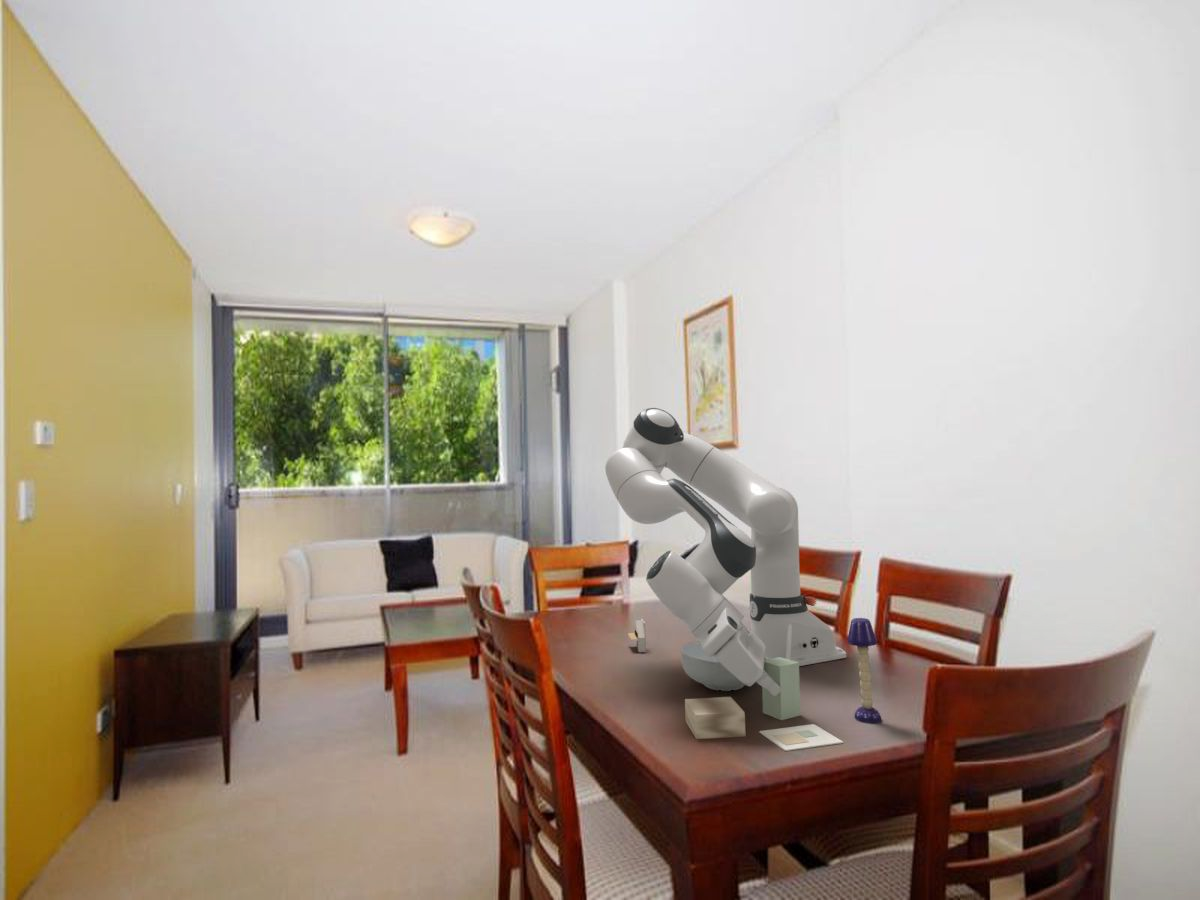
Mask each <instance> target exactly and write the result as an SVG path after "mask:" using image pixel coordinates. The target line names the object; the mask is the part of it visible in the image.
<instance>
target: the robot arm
mask: <svg viewBox="0 0 1200 900" xmlns="http://www.w3.org/2000/svg"><path fill="white" fill-rule="evenodd" d="M604 467H605V475H606V478H607V480H608V484H609V486H610V488H611V490H612V493H613V494H614V497H615V499H616V500H617V502H618V503H619V505H620V507H621V509H623V511H624V513H625V514H626V515H627V516H628V517H629V519H631V520H632V521H634V522H635V523H639V524H642V525H643V524H644V525H652V524H653V525H654V524H658V523H662V522H664V521H667V520H669V519H670V518H672V517H673V516H676V515H679V514H680V513H685V512H686V513H687V515H689V516H690V518H691V519H693V520H694V521H695V522H696V523H697V524H698V525H699V526H700V527H701V528H702V529H703V530H704V531H705V535H704V538H703V540H702V541H701V542H700V543H699V545H697V546H696V548H694V549H693V551H691V553H690V554H689V555H688V556H687V557H685V558H683V557H682V555H679V553H676V552H675V551H674V550H668V551H665V552H664V553H662V555H660V556H659V557H658V559H657V560H656V561H655V562H654V563H653V565H651V567H650V569H649V570H648V571H647V574H646V578H645V580H646V583H647V585H648V586H649V588H650V590H651V591H652V592H653V593H654V594H655V596H656V597H657V598H658V599H659V600H660V602H661V603H662V604H663V606H665V608H666V609H667V610H668V611H669V612H670V613H671V614H672V615H673V616H675V617H677V618H679V619H680V620H681V621H682V622H683V623H684V624H685V626H686V627H687V630H688V631H689V632H690V633H691V634H692V635H693V636H694V637H695V638H696V639H697V641H699V642H700V643H701V646H702V649H703V651H704V652H705V653H706V654H707V655H708V656H710V657H712V656H713V655H715V658H716V659H717V660H718V661H719V662H720V663H721V664H722V665H723V666H724V667H725V668H726V669H727V670H728V671H729V672H730V673H731V674H733V675H734V676H735V677H736V678H737V679H738V680H739V681H741V682H742V683H743V684H745V685H744V686H746V687H752V686H753V685H754V684H755V683H757V684H758V685H759V686H761V688H762V687H764V688H765V689H767V690H768V691H769V692H770V693H771V694H772V695H773V696H776V695H777V694H778V693H779V692H780V691H781V686H780V685H779V684H778V683H777V682H776V681H775V680H773V679H772V678H771V677H770V676H769V675H767V673H766V672H765V670H764V660H767V659H772V658H777V657H782V658H785V659H789V660H792V661H796V662H799V667H802V666H807V665H812V664H818V663H824V662H830V661H836V660H840V659H845V658H847V652H846V651H845V650H844V649H843V648H841V647H839V646H836V640H835V636H834V632H833V630H832V628H831V627H830V626H829V625H828V624H826V623H825V622H824V621H822V620H821V619H820V618H819V617H817V615H815V614H813V613H812V612H810V611H809V608H808V606H810V607H815V606H816V605H817V599H816V597H814V596H813V597H812V596H805V595H804V594H801V579H800V578H801V577H800V576H801V575H800V545H799V544H800V543H799V542H800V539H799V538H800V537H799V535H800V534H799V532H800V531H799V508H798V502H797V500H796V498H795V497H794V495H793V494H791V492H789V491H788V490H786V489H784V488H782V487H778V486H776V485H775V484H773V483H772V482H770V481H769V480H768V479H766V478H764V477H762V476H761V475H759V474H758V473H756V472H754V471H753V470H752V469H750V468H749V467H747V466H746V465H744V464H743V463H741V462H739V461H738V460H737V459H735V458H733V457H731V456H730V455H729V454H727V453H726V452H724V451H722V450H721V449H718V448H717V447H716V446H714V445H712V444H711V443H709V442H707V441H705V440H703V439H701V438H699V437H697V436H694V435H692V434H690V433H687V432H685V431H683V429H682V428H681V426H680V424H679V422H677V420H676V418H675V417H674V416H673V415H672V414H670V413H669V412H667V411H666V410H664V409H661V408H658V407H657V408H656V407H649V408H644V409H642V410H641V411H640V412H639V413H638V414H637V416H636V417H635V419H634V420H633V424H632V426H631V428H630V429H629V431H628V433H627V435H626V437H625V439H624V441H623V446H622V448H619V449H617V450H614V452H613V453H611V455H610V456H609V457H608V458H607V460H606V463H605V466H604ZM664 468H667V469H669V470H670V471H671V472H672V473H673V474H674V475H676V476H677V477H678V478H680V479H681V480H679V479H678V478H677V479H676V478H671V479H668V480H667V479H665V478H664V477H663V476H662V475H661V474H662V473H663V470H664ZM695 489H696V490H697V491H698V492H697V491H696V490H695ZM699 492H700V493H701V494H703V495H704V496H706V497H707V498H709V499H711V500H712V501H714V502H715V503H716V504H718V505H720V506H721V507H722V508H723V509H725V510H726V511H728V512H729V513H730V514H731V515H732V516H734V517H735V518H737V519H738V520H739V521H740V522H742V523H743V524H745V525H747V526H748V527H749V528H750V529H751V530H750V534H751V535H750V536H748V534H747V533H745V532H744V531H743V530H742V529H740V528H738V527H737V526H736V525H735V524H734V523H732V522H731V521H730V520H728V519H727V518H726V517H725V516H724V515H723V514H722V513H721V512H720V511H718V510H717V509H716V508H715V507H714V506H713V505H712V504H711V503H710V502H709V501H707V500H706V498H704V497H703V495H700V493H699ZM749 571H750V587H751V589H750V590H751V591H750V594H749V615H750V616H749V617H750V624H751V625H750V628H749V627H748V626H747V625H746V624H744V623H743V622H742V621H743V620H744V617H745V616H744V615H743V614H742V612H740V611H739V609H738V608H737V607H736V606H734V604H733V603H732V602H730V600H728V598H727V597H725V595H723V594H724V593H725V592H726V591H728V590H729V589H730V588H731V587H732V586H733V584H735V583H736V582H737V581H738V580H739V579H741V578H742V577H743V576H745V575H746V574H747V573H748V572H749ZM807 605H808V606H807Z"/></svg>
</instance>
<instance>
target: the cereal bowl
mask: <svg viewBox="0 0 1200 900" xmlns="http://www.w3.org/2000/svg"><path fill="white" fill-rule="evenodd" d="M680 661H681V665H682V669H683V670H684V672H685V674H686V675H687V676H688V677H689V678H691V679H692V680H694V681H695V682H697V683H700V684H702V685H704V687H706V688H708V689H711V690H714V691H719V690H721V691H722V692H732V691H731V690H734V691H739V690H740V689H743V688H744V686H746V685H745V684H743V683H742V682H741V681H739V680H738V679H737V678H736V677H735V676H734V675H733V674H731V673H730V672H729V671H728V670H727V669H726V668H725V667H724V666H723V665H722V664H721V663H720V662H719V661H718V660H717V659H716V658H715V655H713V656H712V657H710V656H708V655H707V654H706V653H705V652H704V651H703V649H702V646H701V643H700V642H699V641H698V640H697V641H691V642H688V643H686V644H684V645H682V646H681V648H680ZM721 691H720V692H721Z"/></svg>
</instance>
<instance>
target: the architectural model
mask: <svg viewBox="0 0 1200 900" xmlns="http://www.w3.org/2000/svg"><path fill="white" fill-rule="evenodd" d="M635 625H636V627H635V628H634V632H628V634H627V636H628V638H629V639H630V640H631V641H630V642H636V647H637V652H645V653H647V639H646V637H647V636H646V632H647V631H646V622H645V621H644V619H643V618H640V620H635Z"/></svg>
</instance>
